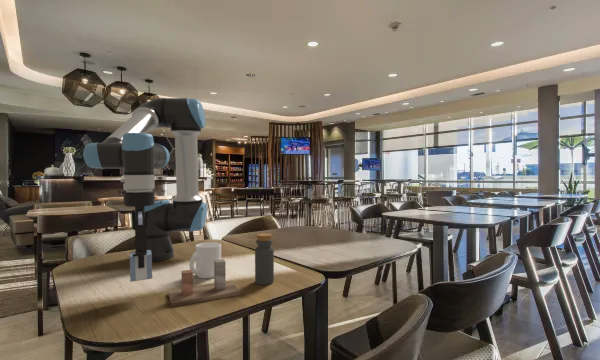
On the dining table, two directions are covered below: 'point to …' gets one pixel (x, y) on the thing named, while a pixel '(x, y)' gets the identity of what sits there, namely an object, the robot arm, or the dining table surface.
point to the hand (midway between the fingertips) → (141, 275)
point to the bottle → (264, 260)
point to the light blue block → (132, 266)
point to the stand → (203, 288)
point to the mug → (205, 259)
